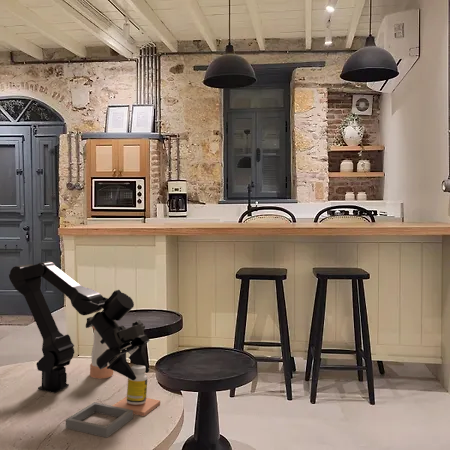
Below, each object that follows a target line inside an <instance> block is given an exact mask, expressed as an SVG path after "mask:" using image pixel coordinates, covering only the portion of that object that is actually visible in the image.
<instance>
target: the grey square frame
mask: <svg viewBox="0 0 450 450" xmlns="http://www.w3.org/2000/svg"><path fill="white" fill-rule="evenodd" d="M95 413H97V414H101V415H106V416H111V417H116V419H114V420H113V421H111V422H110V423H108V424H106V426H105V425H101V424H99V423H98V424H97V423H93V422H88V421H84V420H85V419H87V418H89V417H90V416H91V415H93V414H95ZM133 416H134V414H133V410H129V409H125V408H120V407H115V406H113V405H110V404H104V403H101V402H97V401H96V402H92V403H90V404H89V405H87V406H86V407H84V408H82V409H80V410H79V411H77V412H76V413H74V414H73V415H71V416H69V417H67V418H66V419H65V428H66V429H69V430H73V431H76V432H81V433H85V434H90V435H93V436H97V437H102V438H108V437H110V436H112V434H114V433H116V432H117V431H118V430H119V429H121V428H122V427H123V426H125V425H126V424H127V423H129V422H130V421H132V420H133V418H134V417H133Z"/></svg>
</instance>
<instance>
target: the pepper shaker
mask: <svg viewBox="0 0 450 450" xmlns="http://www.w3.org/2000/svg"><path fill="white" fill-rule="evenodd" d="M91 329H93V344H92V349H91V363H90V365H89V376H90V377H91V378H92V379H98V380H99V379H100V380H101V379H107V378H111V377H112V375H114V370H111V369H107V367H108V366H109V365H110V364H109V362H108V363H107V367H105V368H103V369H101V370H100V369H99V367H98V366H97V364H96V361H97V358H98V357H99V356H101V355H102V354H103V353H104V352H105V351H106V350H107V349H109V348H108V346H107V345H106V343H104V344H102V343H101V342H100V341H101V340H102V338H101V336H100V335H99V334H98V332H97V331H96V329H95V328H94V326H92V327H91Z"/></svg>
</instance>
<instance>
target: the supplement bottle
mask: <svg viewBox="0 0 450 450" xmlns="http://www.w3.org/2000/svg"><path fill="white" fill-rule="evenodd" d="M130 367H131V369H132V371H133V372H134V374H135V376H136V379H135V380H131V379H129V378H128V377H127V384H126V385H127V386H126V387H127V389H126V397H127V399H126V401H127V403H129V404H132V405H140V404H144V403H145V402H146V398H147V392H148V375H147V373H146V372H145V371H146V367H145V366H143V365H136V364H134V365H131V366H130Z"/></svg>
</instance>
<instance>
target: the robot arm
mask: <svg viewBox="0 0 450 450" xmlns="http://www.w3.org/2000/svg"><path fill="white" fill-rule="evenodd" d="M8 278H9V280H10V283H11V284H12V286H13V288H14V289H15V290H16V291H17V292H18V293H20V294H21V295H22V296H24V298H25V301H26V303H27V305H28V308H29V310H30V312H31V314H32V318H33V319H34V321H35V324H36V326H37V329H38V330H39V333H40V336H41V337H42V345H41V347H42V348H41V351H42V355H43V356H42V357H41V358H40V359H39V360H38V361H37V362H36V368H37V371H38V372H41V386H39V387H37V390H38V391H39V390H40V391H45V392H49V393H57V392H60V391H62V390H64V389H65V388H67V387H69V385H70V384H69V383H67V379H68V378H67V377H68V373H67V372H66V370H67V369H66V366H69V365H70V364H71V361H72V360H73V358H74V355H75V349H74V347H75V344H74V343H73V342H72V339H71V336H70V335H69V334H68V333H67V334H63V333H61V332H60V329H59V328H58V326H57V323H56V321H55V319H54V316H53V315H52V312H51V310H50V308H49V305H48V304H47V301H46V299H45V297H44V294H43V292H42V290H41V287H42V278H43V279H44V280H46V281H47V282H48V283H49V284H51V285H52V286H53V287H55V288H56V289H57V290H59V292H61V294H64V295H65V296H66V297H67V298H68V299H69V300H70V303H71V306H72V307H73V309H75V310H76V312H78V314H80V315H81V316H88V315H91V314H94V313H95V314H94V315H93V316H90V317H87V318H86V323H85V328H86V329H89V328H92V326H94V328H95V329H96V331H97V332H98V334H99V335H100V336H101V338H102V340H101V341H100V342H101V343H102V344H104V343H106V345H107V346H108V348H109V349H107V350H106V351H105V352H104V353H103V354H102V355H101V356H99V357H98V358H97V361H96V364H97V366H98V367H99V369H100V370H101V369H103V368H105V367H107V363H108V362H109V364H110V365H109V366H108V367H107V369H111V370H113V372H116V373H118V374H120V375H122V376H124V377H126V378H127V379H128V378H129V379H131V380H135V379H136V376H135V374H134V372H133V371H132V369H131V366H130V364H129V362H128V360H127V353H128V354H129V356H128V359H129V360H130V361H131V362H132V363H134V365H143V366H145V367H146V371H145V374H148V373H149V372H150V368H149V365H148V362H147V359H146V358H147V357H146V354H145V350H146V349H145V348H146V347H147V344H148V343H149V342H150V339H149V337H148V335H147V334H145V332H144V331H145V329H146V325H145V324H144V323H143V321H141V320H139V319H138V320H137V321H134V322H132V325H131V326H130V327H128V328H126V327H125V326H124V325H119V324H118V322H117V321H121V320H122V319H123V318H124V317H125V316H126V315H128V313H129V312H130V311H131V310H132V309H133V308H134V305H135V303H134V301H133V299H132V297H131V296H129V295H127V294H126V293H124V292H122V291H121V290H120V289H116V290H114V291H113V292H112V293H111V295H110V296H109V297H105V296H103V294H101V292H98V291H96V290H95V289H92V288H89V287H85V286H83V285H81V284H80V283H78V282H77V281H75V280H74V278H71V276H69V275H68V274H67V273H65V272H64V271H63V270H62V269H60V268H59V267H57V266H56V264H55V263H54V262H52V261H44V262H42V261H41V262H38V263H36V264H32V263H31V264H30V263H29V264H21V265H16V266H13V267H12V268H11V270H10V272H9V274H8Z"/></svg>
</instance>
